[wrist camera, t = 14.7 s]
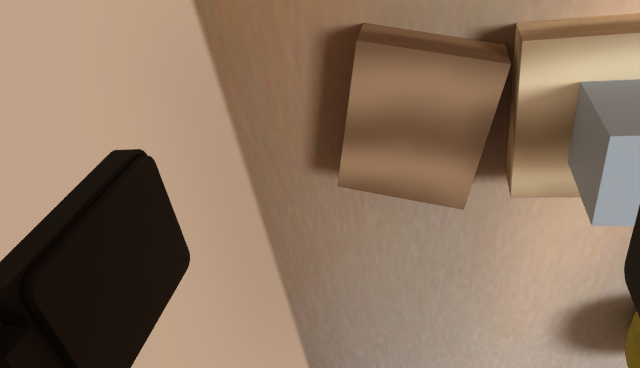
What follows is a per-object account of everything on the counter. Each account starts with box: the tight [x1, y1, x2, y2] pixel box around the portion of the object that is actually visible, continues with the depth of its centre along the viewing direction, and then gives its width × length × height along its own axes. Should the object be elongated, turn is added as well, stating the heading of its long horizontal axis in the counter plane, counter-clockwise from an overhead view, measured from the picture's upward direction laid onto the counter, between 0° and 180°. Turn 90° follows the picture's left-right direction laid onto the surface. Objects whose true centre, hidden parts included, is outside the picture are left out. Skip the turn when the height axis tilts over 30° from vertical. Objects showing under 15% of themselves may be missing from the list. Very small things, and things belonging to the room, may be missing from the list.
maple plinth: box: [506, 13, 640, 197], centre depth 35 cm, size 12×12×4 cm
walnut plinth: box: [337, 23, 511, 210], centre depth 38 cm, size 12×10×4 cm
